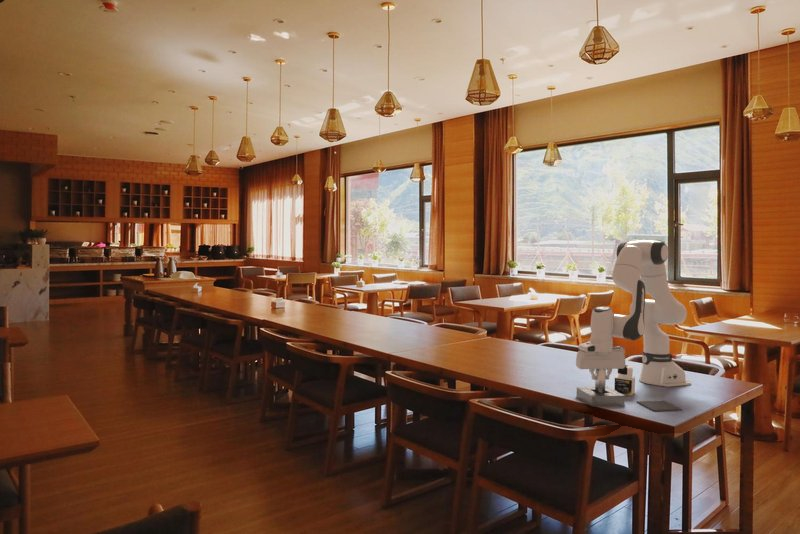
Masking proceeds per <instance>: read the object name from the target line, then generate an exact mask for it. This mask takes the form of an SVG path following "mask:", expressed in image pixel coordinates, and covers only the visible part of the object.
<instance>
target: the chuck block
mask: <svg viewBox="0 0 800 534" xmlns="http://www.w3.org/2000/svg"><path fill="white" fill-rule="evenodd" d="M576 398H578V399H579V400H581V401H583V402H584V403H586V404H588V405H589V406H591V407H605V406H607V407H612V406H613V407H614V405H618V406H625V404H626V403H625V401H626V400H625V399H626V395H623V394H621V393H619V392H617V391H615V390H614V389H613V388H611V387H609V386H605V393H598V392H595V386H583V387H582V386H579V387H576ZM610 405H611V406H610Z"/></svg>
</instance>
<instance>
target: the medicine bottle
mask: <svg viewBox="0 0 800 534" xmlns="http://www.w3.org/2000/svg"><path fill="white" fill-rule="evenodd" d="M633 369H634V368H633V366H631V365H627V364H625V367H624V368H623V369H617V375H616V376H615V377H614V387H613V388H614V389H613V390H615V391H617V392H619V393H621V394H623V395H625V396H629V397H630V396H632V395H633V394H635V391H636V390H635V389H636V376H634V375H633Z"/></svg>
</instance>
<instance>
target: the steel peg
mask: <svg viewBox="0 0 800 534" xmlns="http://www.w3.org/2000/svg"><path fill="white" fill-rule="evenodd" d="M594 372H595V373H594V374H595V375H597V380H594V387H595V392H598V393H605V387H606V380H607V379H606V373H607V369H595V371H594Z"/></svg>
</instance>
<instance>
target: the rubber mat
mask: <svg viewBox="0 0 800 534" xmlns="http://www.w3.org/2000/svg"><path fill="white" fill-rule="evenodd" d="M636 403H637V404H638V405H641V406H642V407H644V408H646V409H648V410H650V411H651V412H678V411H677V410H682V411H683V408H680V407H679V406H677V405H674V404H672V403H671V402H668V401H666V400H639V401H638V400H637V401H636ZM670 410H671V411H670ZM674 410H675V411H674Z"/></svg>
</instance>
